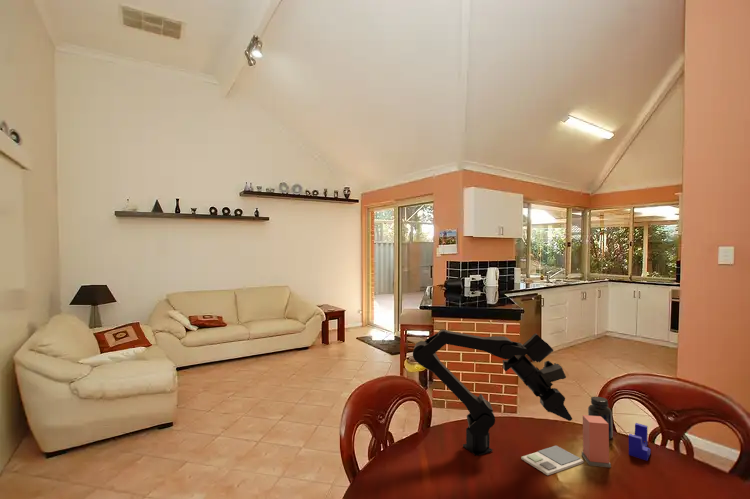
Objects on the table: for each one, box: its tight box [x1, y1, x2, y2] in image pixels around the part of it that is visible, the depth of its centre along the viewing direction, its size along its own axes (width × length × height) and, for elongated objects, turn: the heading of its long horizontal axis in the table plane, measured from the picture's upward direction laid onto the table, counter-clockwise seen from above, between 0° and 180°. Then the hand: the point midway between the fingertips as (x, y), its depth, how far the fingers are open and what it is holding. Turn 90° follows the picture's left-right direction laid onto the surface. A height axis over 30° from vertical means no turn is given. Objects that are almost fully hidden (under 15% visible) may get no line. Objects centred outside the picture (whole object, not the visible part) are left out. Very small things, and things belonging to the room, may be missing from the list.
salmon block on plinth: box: [581, 414, 612, 468], centre depth 105 cm, size 6×6×12 cm
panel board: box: [520, 445, 585, 476], centre depth 104 cm, size 15×9×1 cm, turn 115°
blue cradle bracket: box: [628, 422, 651, 462], centre depth 111 cm, size 12×4×6 cm, turn 135°
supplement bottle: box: [587, 396, 614, 440], centre depth 120 cm, size 7×7×12 cm
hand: (565, 413), depth 107 cm, fingers open, 9 cm apart
